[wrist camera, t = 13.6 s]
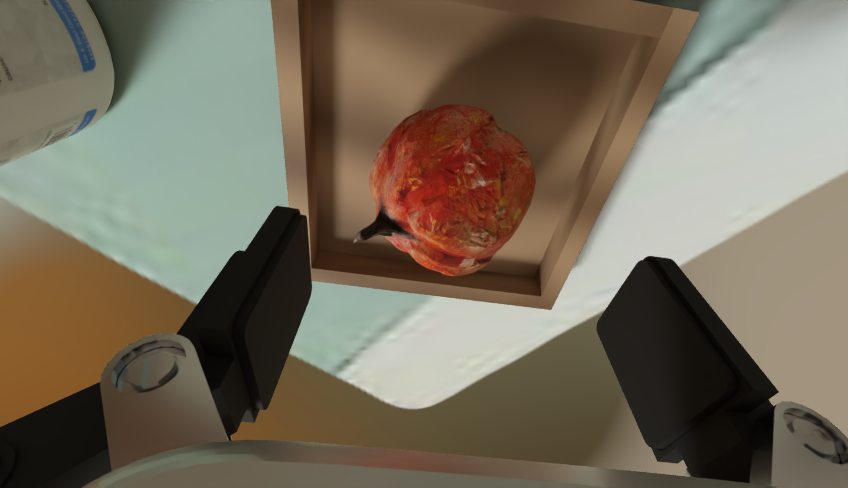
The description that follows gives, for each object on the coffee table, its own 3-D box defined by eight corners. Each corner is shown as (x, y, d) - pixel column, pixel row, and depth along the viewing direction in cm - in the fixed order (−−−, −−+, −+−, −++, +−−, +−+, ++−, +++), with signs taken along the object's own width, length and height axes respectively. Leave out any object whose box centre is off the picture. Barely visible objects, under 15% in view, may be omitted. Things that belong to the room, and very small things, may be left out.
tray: (289, -59, 14) (264, -67, 12) (663, 9, 16) (699, 12, 13) (307, 253, 24) (295, 278, 22) (541, 282, 25) (551, 309, 23)
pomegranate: (494, 66, 18) (304, 92, 13) (623, 122, 14) (415, 188, 9) (469, 189, 23) (324, 240, 18) (559, 257, 19) (402, 346, 14)
